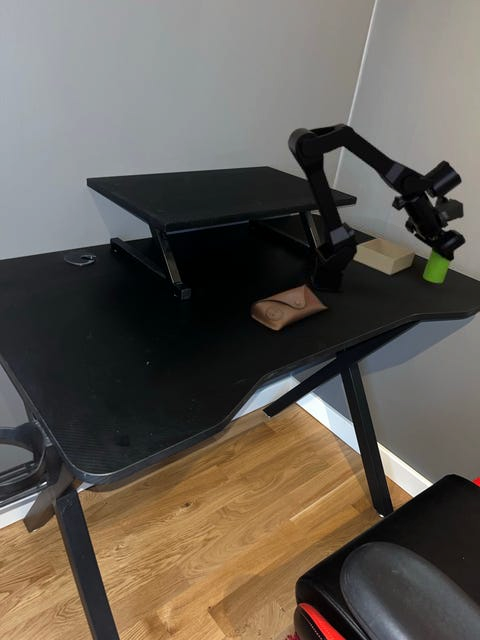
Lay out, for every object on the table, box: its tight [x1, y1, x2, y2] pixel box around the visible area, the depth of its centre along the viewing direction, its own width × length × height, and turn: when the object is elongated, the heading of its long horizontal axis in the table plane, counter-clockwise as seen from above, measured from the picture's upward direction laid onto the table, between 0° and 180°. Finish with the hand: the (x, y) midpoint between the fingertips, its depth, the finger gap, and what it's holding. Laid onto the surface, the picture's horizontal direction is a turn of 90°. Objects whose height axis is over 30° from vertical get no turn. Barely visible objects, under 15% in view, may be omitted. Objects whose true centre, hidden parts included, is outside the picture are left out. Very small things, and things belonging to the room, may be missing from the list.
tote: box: [353, 237, 416, 276], centre depth 133 cm, size 12×12×4 cm
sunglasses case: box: [250, 283, 328, 331], centre depth 101 cm, size 18×7×7 cm
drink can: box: [422, 238, 456, 284], centre depth 117 cm, size 5×5×12 cm
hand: (446, 255), depth 117 cm, fingers closed on drink can, 5 cm apart
